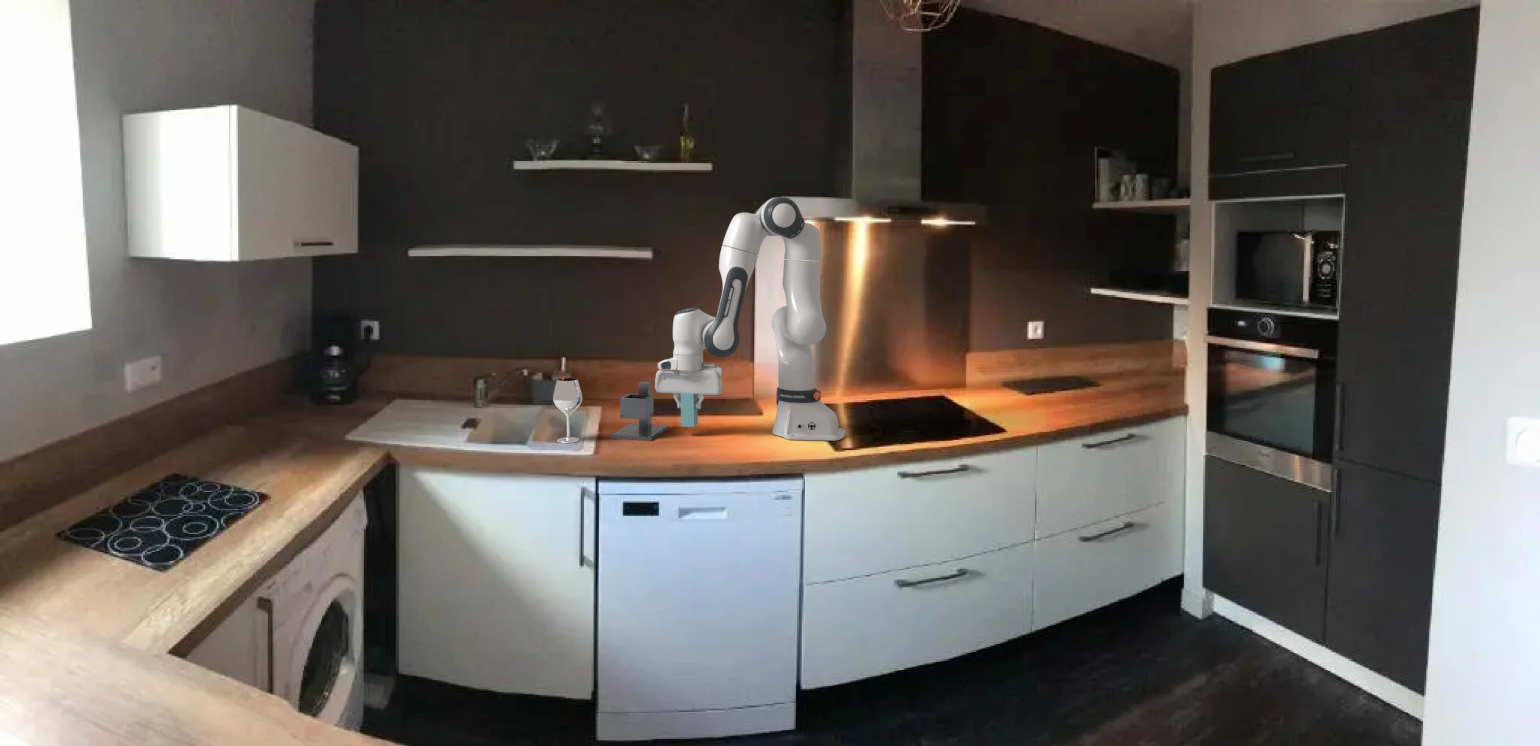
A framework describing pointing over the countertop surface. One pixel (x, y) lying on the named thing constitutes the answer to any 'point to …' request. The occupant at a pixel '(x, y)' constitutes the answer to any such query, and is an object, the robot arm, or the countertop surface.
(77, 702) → the countertop surface
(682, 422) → the teal rectangular block
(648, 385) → the stand
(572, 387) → the wineglass
